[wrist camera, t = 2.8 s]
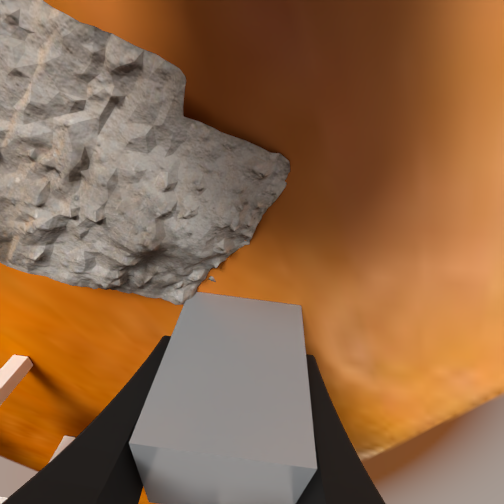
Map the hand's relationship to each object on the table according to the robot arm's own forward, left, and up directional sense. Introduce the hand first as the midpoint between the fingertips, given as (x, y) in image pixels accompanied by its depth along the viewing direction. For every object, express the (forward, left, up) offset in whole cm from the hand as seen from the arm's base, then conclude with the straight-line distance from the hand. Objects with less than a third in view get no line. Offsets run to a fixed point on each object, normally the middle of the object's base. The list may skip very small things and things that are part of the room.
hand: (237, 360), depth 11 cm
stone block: (0, 0, -1) cm, 1 cm away
